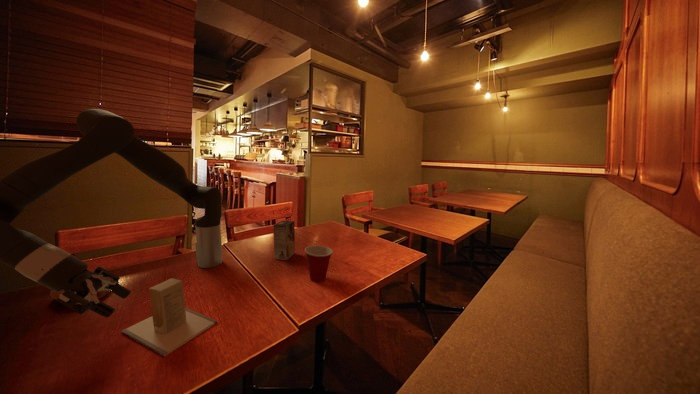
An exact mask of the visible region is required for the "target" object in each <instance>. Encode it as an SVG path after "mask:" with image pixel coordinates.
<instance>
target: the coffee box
mask: <svg viewBox="0 0 700 394" xmlns="http://www.w3.org/2000/svg"><path fill="white" fill-rule="evenodd" d="M295 229H296V228H295V221H293V220H292V221H291V220H281V221H279V222H278V223H275V224H274V225H273V255H274V257H273V258H274V259H275V260H280V261H288V260H289V259H290V258H291V257H292V256H293V255H294V254H295V253H296V252H295V251H296V250H295V249H296V248H295V247H296V246H295V241H296V240H295V239H296V238H295V233H296V232H295Z"/></svg>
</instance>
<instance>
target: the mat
mask: <svg viewBox="0 0 700 394" xmlns="http://www.w3.org/2000/svg"><path fill="white" fill-rule="evenodd" d="M185 312H186V321H185V322H184V323H182V324H181V325H179V326H177V327H176V328H174V329H173V330H171V331H170V332H168V333H167V334H162V333H160V332H157V331H155V330H154V324H153V316H150V317H147V318H146V319H144V320H141V321H139V322H137V323H135V324H133V325H131V326H128V327H127V328H124V329H122V330H121V334H123V333H124V334H126V335H128V336H129V337H128V336H127V337H128V338H130V337H131V338H130V339H132V338H133V339H134V340H133V339H132V340H133V341H135V340H136V342H137V343H139V344H140V343H141V345H142V344H143V345H142V346H144V345H145V347H146V346H147V347H146V348H148V347H149V348H151V349H153V350H154V351H153V350H152V351H153V352H155V353H156V352H157V354H158V353H159V354H158V355H160V356H162V357H163V356H164V357H166V356H168V355H169V354H171V353H172V352H174V351H175V350H177V349H178V348H180V347H182V346H184V345H185V344H186V343H188V342H190V341H191V340H193V339H195V338H197V336H199V335H200V334H202V333H204V332H205V331H207V330H209V328H212V327H213V326H214V325H216V324H217V323H218V321H217V320H216V319H214V318H211V317H209V316H207V315H204V314H201V313H199V312H196V311H194V310H192V309H190V308H188V307H185ZM124 334H123V335H124ZM126 335H125V336H126ZM149 348H148V349H149ZM151 349H150V350H151Z"/></svg>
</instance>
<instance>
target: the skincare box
mask: <svg viewBox="0 0 700 394" xmlns="http://www.w3.org/2000/svg"><path fill="white" fill-rule="evenodd" d="M183 283H184V282H183V280H181V279H177V278H173V277H171V278H169V279H167V280H163V281H161V282H159V283H157V284H155V285H153V286H151V287H149V288H148V289H149V290H148V291H149V292H148V293H149V298H150V299H149V300H150V305H151V306H150V307H151V314H152V316H153V324H154V330H155V331H157V332H160V333H162V334H167V333H168V332H170V331H171V330H173V329H174V328H176V327H177V326H179V325H181V324H182V323H184V322H185V321H186V312H185V308H186V304H185V292H184V284H183Z"/></svg>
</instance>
